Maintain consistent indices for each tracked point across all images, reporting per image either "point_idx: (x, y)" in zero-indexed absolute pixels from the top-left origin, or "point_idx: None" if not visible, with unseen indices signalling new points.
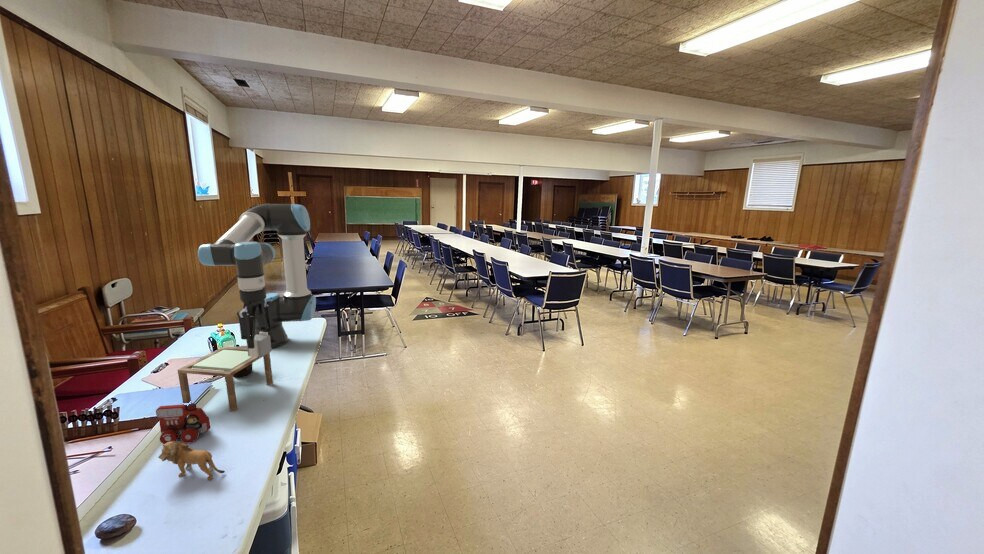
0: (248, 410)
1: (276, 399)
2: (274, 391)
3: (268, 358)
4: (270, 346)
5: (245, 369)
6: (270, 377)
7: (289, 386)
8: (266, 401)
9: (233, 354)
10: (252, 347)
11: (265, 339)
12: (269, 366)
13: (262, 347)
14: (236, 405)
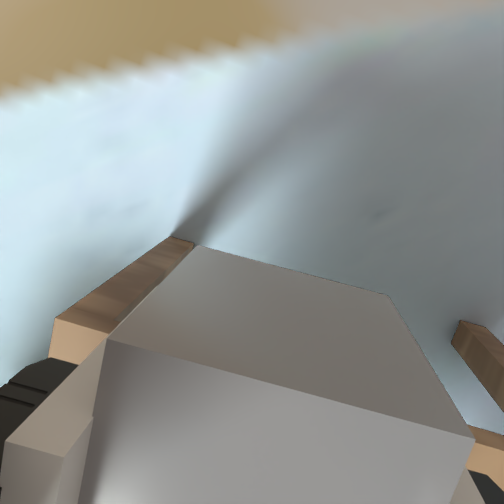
0: (485, 257)
1: (381, 139)
2: (275, 189)
3: (116, 296)
4: (193, 267)
5: None
6: (172, 251)
7: (218, 115)
8: (396, 192)
9: None
10: (489, 488)
11: (287, 366)
12: (144, 272)
13: (385, 340)
14: (473, 331)
